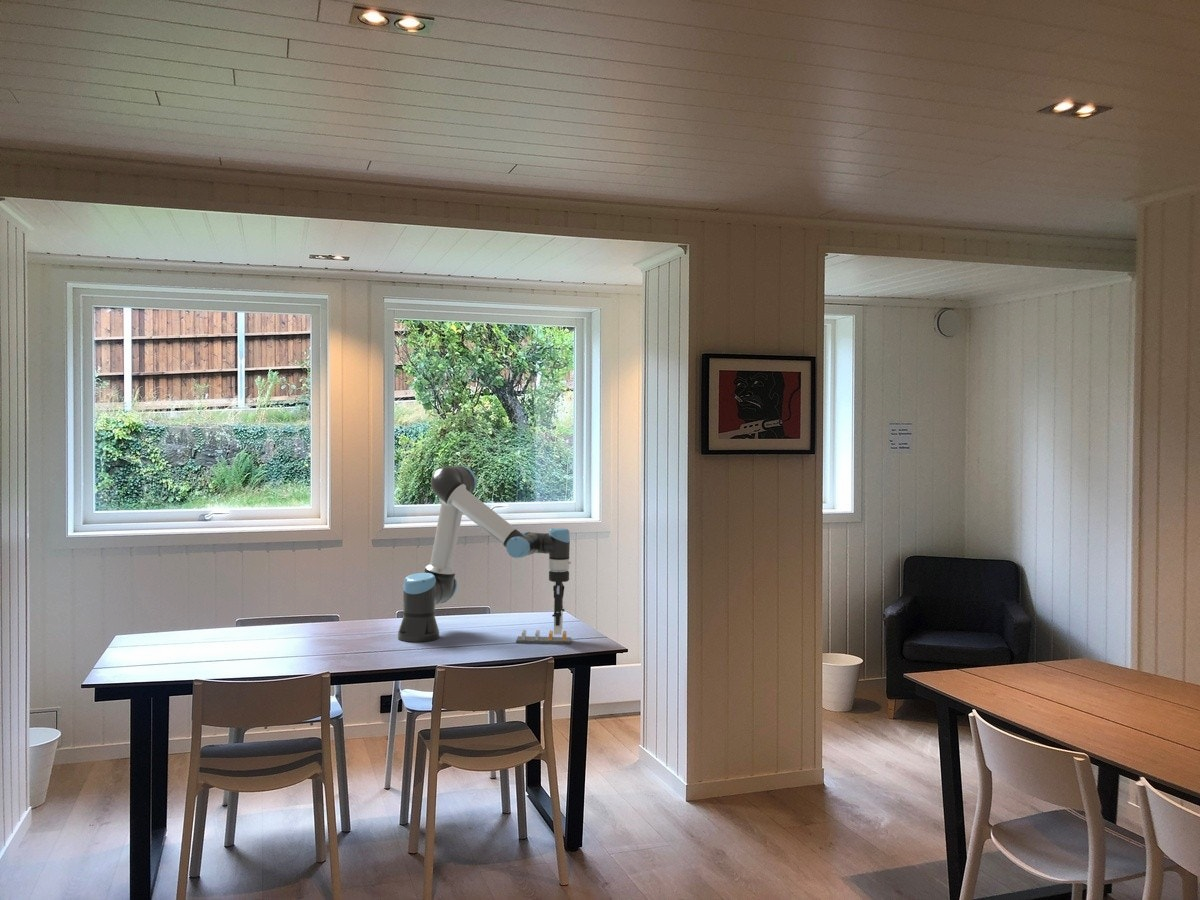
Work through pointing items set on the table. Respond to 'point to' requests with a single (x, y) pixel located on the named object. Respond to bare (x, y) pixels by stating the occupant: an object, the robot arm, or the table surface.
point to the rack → (544, 638)
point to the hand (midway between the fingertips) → (558, 631)
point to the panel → (561, 626)
